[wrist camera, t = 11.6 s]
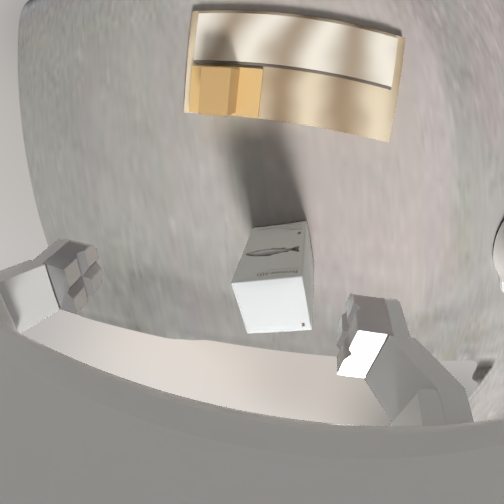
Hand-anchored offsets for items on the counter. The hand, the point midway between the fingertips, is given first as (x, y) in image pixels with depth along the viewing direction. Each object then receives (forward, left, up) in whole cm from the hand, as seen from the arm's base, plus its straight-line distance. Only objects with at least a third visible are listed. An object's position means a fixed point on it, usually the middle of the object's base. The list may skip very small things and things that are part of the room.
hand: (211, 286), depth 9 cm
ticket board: (0, -8, -29) cm, 30 cm away
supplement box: (-2, +15, -29) cm, 33 cm away
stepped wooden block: (+7, -5, -28) cm, 29 cm away
